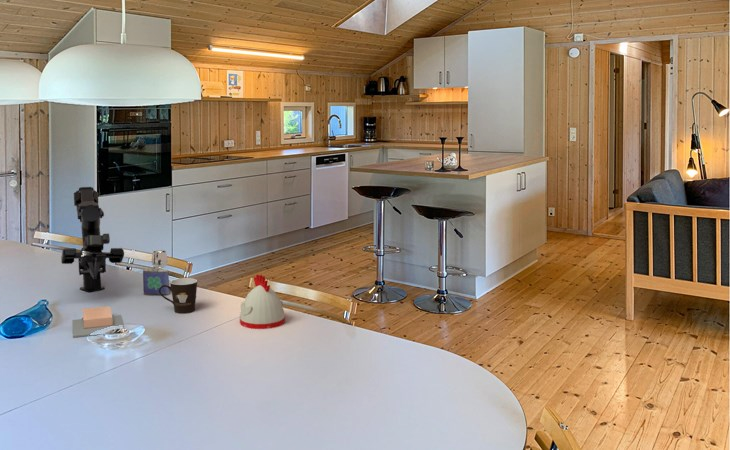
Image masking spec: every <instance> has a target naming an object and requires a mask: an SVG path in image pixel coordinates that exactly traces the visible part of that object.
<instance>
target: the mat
mask: <svg viewBox="0 0 730 450" xmlns="http://www.w3.org/2000/svg"><path fill="white" fill-rule="evenodd" d="M112 319H113V325H109V326H100V327H92V328H84V323H83V318H78V319H72V321H71V322H72V323H71V324H72V339H75V338H85V337H89V336H88V335H90V334H91V333H93V332H95V331H97V330H101V329H104V328H107V327H110V326H119V325H124V322H123V319H122V315H121V314H115V315H112Z"/></svg>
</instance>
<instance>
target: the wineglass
mask: <svg viewBox="0 0 730 450" xmlns="http://www.w3.org/2000/svg"><path fill="white" fill-rule="evenodd" d="M168 262H169V261H168V256H167V251H166V250H162V249H161V250H153V252H152V255H151V263H152V265H153V266H154V265H155V266H156V265H157V266H158V267H157V269H158V270H162V268H164V267H166V266H167V265H168ZM153 266H152V267H153Z"/></svg>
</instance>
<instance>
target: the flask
mask: <svg viewBox="0 0 730 450" xmlns="http://www.w3.org/2000/svg"><path fill="white" fill-rule="evenodd" d="M152 267H153V268H150V267H148V268H146V269H143V270H142V280H143V283H142V284H143V287H142V289H143V290H142V291H143V295H144V296H161V295H160V293H159V288H160V287H161V286H163V285H168V286H170V279H169V278H170V277H169V274H170V273H169V270H168V269H161V270H159V269H158V268H157V267H158V266H157V265H156V266H155V265H154V266H152ZM161 293H162V294H163V296H169V295H170V289H169V288H168V287H163V288H161Z"/></svg>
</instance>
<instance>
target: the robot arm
mask: <svg viewBox="0 0 730 450" xmlns="http://www.w3.org/2000/svg"><path fill="white" fill-rule="evenodd" d="M73 205H74V207H76V214H77V215H76V216H77V220H79V222H80V223H81V237H82V238H81V239H82V241H81V242H82V248H81V249H80V252H77V248H73V247H72V248H71V247H70V248H68V247H67V248H63V249H62V252H61V256H60V258H61V259H60V260H61V261H60V262H61V264H63V265H70V264H71V265H72V264H73V263H74V262H75V259H78V261H77V263H78V275H79V276H81V275H82V280H83V286H82V287H79V290H82V291H83V292H87V293H92V292H96V291H100V290H105V289H106V287H105V286H102V280H101V279H102V278H101V274H104V273H106V272H107V269H106V268H107V267H106V264H107V263H106V260H107V259H108V261H109V262H110V263H111V264H120V263H122V262H123V260H124V256H125V250H124V249H123V248H122V247H111V248H110V250H109V251H103V250H104V245H109V244H110V242H111V241H110V239H111V238H110V233H103V234H101V219H103V217H105V213H104V211H103V209H102V207H100V205H99V192H97V191H96V190H95V189H94V187H92V186H80V187H78V190H76V191H75V192H74V193H73Z"/></svg>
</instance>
